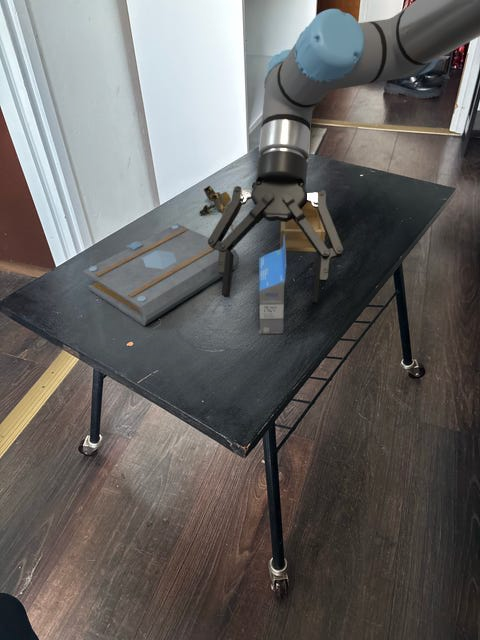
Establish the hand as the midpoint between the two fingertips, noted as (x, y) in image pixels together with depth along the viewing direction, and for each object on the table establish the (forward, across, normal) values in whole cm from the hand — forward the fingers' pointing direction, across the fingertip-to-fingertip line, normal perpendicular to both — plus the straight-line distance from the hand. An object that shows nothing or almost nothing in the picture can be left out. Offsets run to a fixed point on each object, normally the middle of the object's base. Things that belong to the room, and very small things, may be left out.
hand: (269, 299), depth 70 cm
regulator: (-21, +15, -29) cm, 39 cm away
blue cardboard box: (+2, 0, -5) cm, 6 cm away
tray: (-17, -3, -24) cm, 29 cm away
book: (-3, +20, -10) cm, 23 cm away
